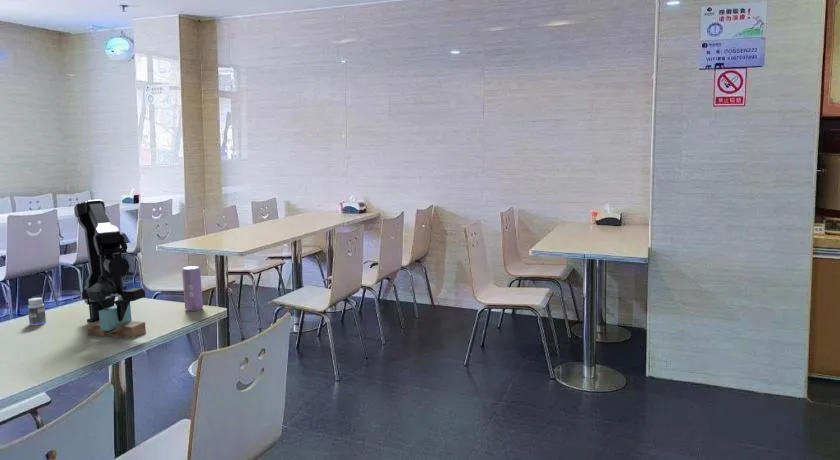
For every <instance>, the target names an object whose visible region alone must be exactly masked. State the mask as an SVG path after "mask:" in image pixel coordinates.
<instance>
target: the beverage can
mask: <svg viewBox="0 0 840 460" xmlns="http://www.w3.org/2000/svg"><path fill="white" fill-rule="evenodd" d="M181 274H182V284H183V285H182V288H183V299H184V300H183V302H184V309H185V310H186V311H187V312H196V311H200V310H202V309H203V307H204V304H203V303H204V302H203V291H202V290H203V287H202V279H201V278H202V277H201V276H202V275H201V269H200V266H198V265H188V266H184V267H182V269H181Z"/></svg>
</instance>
